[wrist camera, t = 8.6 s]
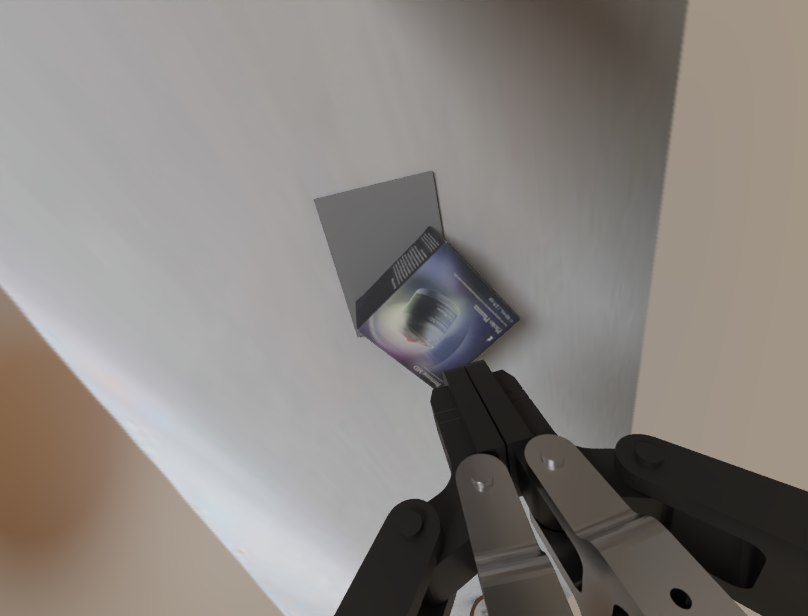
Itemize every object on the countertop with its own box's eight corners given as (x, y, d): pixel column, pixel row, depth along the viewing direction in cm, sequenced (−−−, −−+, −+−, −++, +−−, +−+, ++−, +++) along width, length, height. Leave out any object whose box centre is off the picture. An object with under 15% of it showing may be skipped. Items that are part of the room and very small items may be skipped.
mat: (314, 199, 29) (313, 199, 29) (431, 170, 30) (432, 170, 29) (357, 335, 35) (357, 337, 35) (454, 310, 36) (455, 311, 35)
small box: (525, 321, 30) (439, 397, 32) (497, 293, 35) (425, 358, 38) (446, 240, 25) (353, 334, 28) (428, 223, 31) (353, 301, 34)
